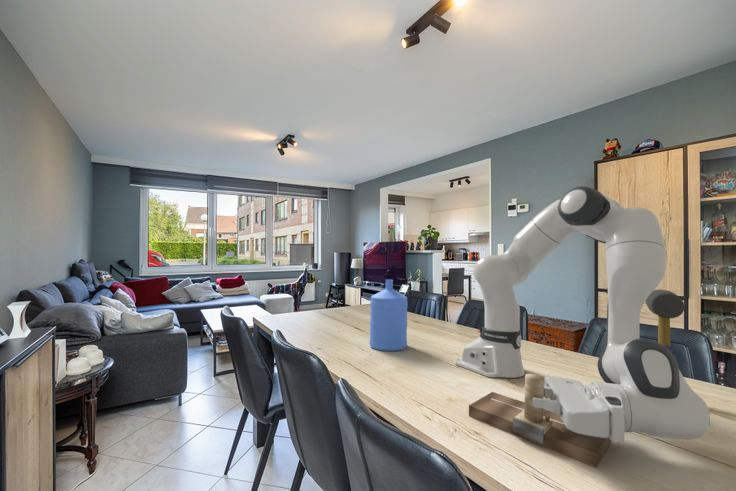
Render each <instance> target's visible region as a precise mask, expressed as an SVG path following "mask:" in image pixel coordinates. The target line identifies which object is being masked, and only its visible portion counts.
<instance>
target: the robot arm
mask: <svg viewBox="0 0 736 491" xmlns="http://www.w3.org/2000/svg"><path fill="white" fill-rule="evenodd" d="M576 233H582V234H583V235H585V236H586V237H587V238H588V237H589V238H590V239H592V240H594V241H596V242H598V243H602V244H605V263H606V264H605V265H606V275H607V276H606V277H607V280H606V281H607V304H606V305H607V306H606V333H605V334H606V336H605V338H606V339H605V344H604V347H603V349H602V351H601V353H600V355H599V357H598V360H597V370H598V373H599V375H600V378H601V379H602V381H604V382H601V381H590V383H589V385H588V386H586V385H584V384H583V383H582V382H581V381H580V380H577V379H575V378H574V379H573V378H569V377H562V376H554V375H546V376H544V392H543V398H541V397H539V396H532V404H533V406H534V407H537V408H543V409H545V410H548V411H550V412H553V413H558V414H559V415H560V417H561V419H562V421H563V422H564V424H565V426H566V428H567V429H569V430H571V431H573V432H575V433H578V434H583V435H588V436H594V437H600V438H608V437H609V438H610V440H611V442H616V443H620V444H621V443H623V444H624V443H625V437H626V434H625V433H629V434H630V433H643V434H646V435H648V436H650V437H651V436H652V437H657V438H665V439H672V440H673V439H675V440H694V439H698V438H700V437H701V438H702V436H704V435H705V434H707V431H708V430H709V427H710V425H711V423H710V422H711V414H710V410H709V408H708V407H709V406H707V403H706V401H705V400H704V399H703V398H702V397H701V396H700V395H699V394H697V393H696V392H695V391H694V390H693V389H692V387H691V386H690V385H689V384H688V382H687V380H686V379H685V378H684V376H683V374H682V372H681V370H680V369H679V363H678V360H677V359H676V357H675V355H674V354H673V351H672V352H671V351H670V350H669V349H667V348H666V347H665V346H664V345H662V344H660V343H658V341H655V340H652V339H650V338H640V333H641V332H640V330H641V329H640V324H641V323H640V318H641V310H642V308H643V306H644V304H645V303H646V299H647V298H648V296H649V295H650V294H651V293H652V292H653V291H654V290H656V289H657V287H658V286H659V285H660V284H661V282H662V281H663V279H664V277H665V274H666V269H667V254H666V245H665V241H664V236H663V232H662V228H661V226H660V223H659V220H658V218H657V216H656V215H655V214H654V213H653V211H651V210H649V209H647V208H644V207H636V206H635V207H634V206H633V207H625V208H624V207H623V206H622V205H621V204H620V203H619V202H618V201H616V200H615V199H613V198H610V197H609V196H607V195H605V194H603V193H601V191H599V190H597V189H595V188H592V187H588V186H583V185H582V186H577V187H574V188H571V189H570V190H568V191H566V192H565V193H564V195H563V196H562V197H561V198H560V199H556V200H555V201H554V202H552V203H550V204H549V205H548V206H546V207H545V208H543V209H542V210H541V211H540V212H539V213H537V214H536V215H535V216H534V217H533V218H531V219H530V221H529V222H528V223H527V224H525V226H524V227H523V228H522V229H520V231H518V232H517V233H516V234H515V236H513V240H512V242H511V244H510V245H509V247H508V248H507V249H506V251H504V252H503V253H502V254H500V255H498V254H497V255H496V254H491V255H487V256H484V257H483V258H480V259H478V260H477V261H476V263H475V265H474V267H473V277H474V280H475V281H476V283H478V285H479V288H480V292H481V294H482V298H483V305H484V326H481V327H480V328H477V333H479V336H478V337H476V338H475V339H473V340H472V341H470V342H468V343H467V344H466V345H464V347H463V350H462V355H461V356H459V357H457V359H455V363H454V364H455V365H456V366H459V367H462V368H464V369H466V370H469V371H472V372H474V373H477V374H480V375H482V376H484V377H487V378H508V379H509V378H510V379H511V378H515V379H516V378H521V377H523V376H525V375H526V372H525V368H524V365H523V361H522V354H521V347H522V332H521V329H520V328H521V326H520V324H521V323H520V322H521V320H520V318H521V313H520V312H521V311H520V310H521V309H520V305H519V303H518V302H517V298H516V296H515V291H514V287H517V286H519V285H521V284H522V283H524V282H526V280H527V279H528V277H529V276H530V274H532V273H533V272H534V270H535V269H536V268H537V266H538V265H539V264H540V263H541V262H542V261H543V260H544V259H545V258H546V257H548V255H550V254H551V253H553V251H554V250H556V249H557V248H559V246H560V245H561V244H563V242H565V240H567V239H568V238H569V237H570V236H571V235H573V234H576Z"/></svg>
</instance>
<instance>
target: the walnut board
mask: <svg viewBox="0 0 736 491" xmlns="http://www.w3.org/2000/svg"><path fill="white" fill-rule="evenodd" d="M524 404H525V401H522V400H518V399H516V398H513V397H510V396H506V395H503V394H500V393H497V392H494V391H491V392H490V393H487V394H486V395H484V396H482V397H481V398H479V399H478V400H476V401H474V402H473V403H470V404H469V405H468V417H471V418H473V419H476V420H478V421H481V422H483V423H486V424H487V425H491V426H492V427H495V428H497V429H501V430H503V431H505V432H508V433H510V434H512V435H515V436H517V437H520V438H523V439H526V440H528V441H530V442H533V443H535V444H537V445H540V446H543V447H545V448H548V449H549V450H553V451H554V452H557V453H560V454H562V455H565V456H567V457H569V458H572V459H575V460H577V461H580V462H581V463H584V464H587V465H589V466H592V467H595V468H597V467H598V465H599V464H600V462H601V460H602V459H603V457H604V455H605V453H606V452H607V450H608V449H609V447H610V445H611V443H612V440H610V438H609V437H608V438H600V437H594V436H588V435H583V434H578V433H575V432H573V431H571V430H569V429H567V428H566V426H565V424H564V422H563V421H562V419H561V417H560V415H559V414H558V413H553V412H550V411H548V410H545V409H543V417H544V418H545V417H546V416H549V417H550V420H553V423H552V427H551V428H550V429H549V430H548V431H547V432H546V433H545V434H544V442H543V443H541V442H538V441H536V440H534V439H531V438H529V437H526V436H524V435H522V434H519V433H517V432H514V431H513V418H514V417H515V416H517V415H518V414H519V413H521V412H522V411H523V410H524Z"/></svg>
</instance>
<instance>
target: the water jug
mask: <svg viewBox="0 0 736 491" xmlns="http://www.w3.org/2000/svg"><path fill="white" fill-rule="evenodd" d="M393 282H394V279H391V278H389V279H385V288H384V289H383V290H380V291H379V292H377V293H375V294H372V295H371V296H370V303H369V304H370V320H369V327H370V328H369V329H370V330H369V335H370V336H369V345H370V348H373V349H374V350H378V351H382V352H397V351H402V350H405V349H406V348H407V347H408V340H407V336H408V335H407V334H408V331H407V330H408V306H409V305H408V304H409V303H408V297H407V296H406V295H404V294H403V293H400V292H398V291H397V290H394V288H393V287H394V286H393V285H394V283H393Z"/></svg>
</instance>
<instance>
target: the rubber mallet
mask: <svg viewBox="0 0 736 491" xmlns="http://www.w3.org/2000/svg"><path fill="white" fill-rule="evenodd" d="M645 305H646V306H647V308H648V309H649V311H650V312H651V313H652V314H655V316H658V317H657V325H658V326H657V328H658V329H657V332H658V333H657V334H658V335H657V342H658V343H660V344H662V345H664V346H665V347H666V348H667V349H669V350H670V351H671V352H672V353H673V349H672V346H671V319H674V318H678V317H680V316H682V314H683V313H684V311H685V308H686V307H685V302H684V301H683V299H682V298H681V297H680V296H678V295H677V294H676V293H675V292H673V291H671V290H665V289H654V290H653V292H652V293H651V294H650V295H649V296H648V298H647V299H646V301H645Z"/></svg>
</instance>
